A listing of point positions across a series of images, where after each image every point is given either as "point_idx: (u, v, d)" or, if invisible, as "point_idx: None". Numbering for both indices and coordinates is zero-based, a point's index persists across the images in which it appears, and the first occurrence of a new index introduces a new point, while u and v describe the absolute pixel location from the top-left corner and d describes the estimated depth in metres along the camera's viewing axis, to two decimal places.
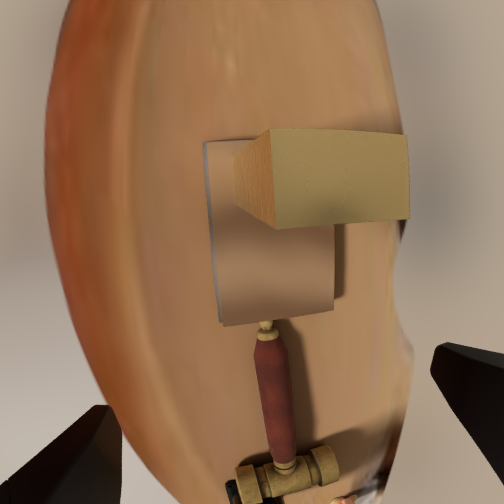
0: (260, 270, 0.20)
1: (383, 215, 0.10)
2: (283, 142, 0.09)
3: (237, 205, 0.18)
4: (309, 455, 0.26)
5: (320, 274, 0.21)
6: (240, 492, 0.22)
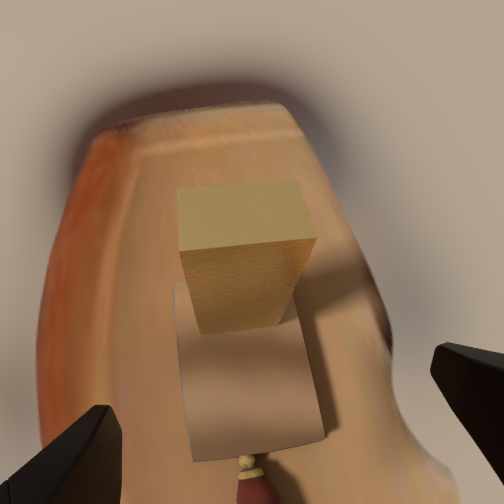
0: (230, 399, 0.17)
1: (284, 235, 0.11)
2: (186, 195, 0.12)
3: (199, 330, 0.18)
4: None
5: (300, 400, 0.17)
6: None
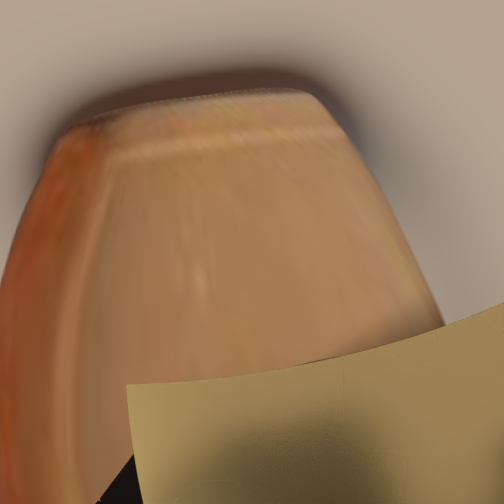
0: None
1: None
2: (173, 429, 0.02)
3: None
4: None
5: None
6: None
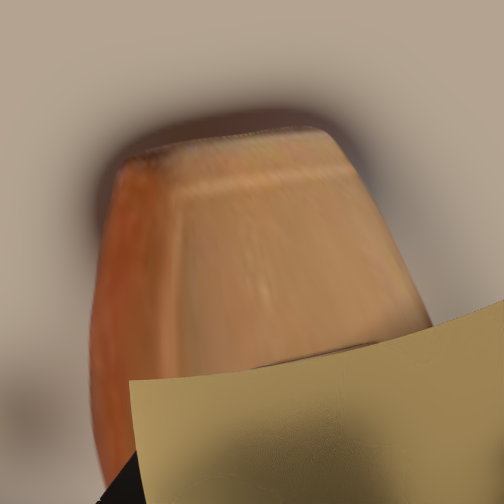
0: None
1: None
2: (176, 424, 0.02)
3: None
4: None
5: None
6: None
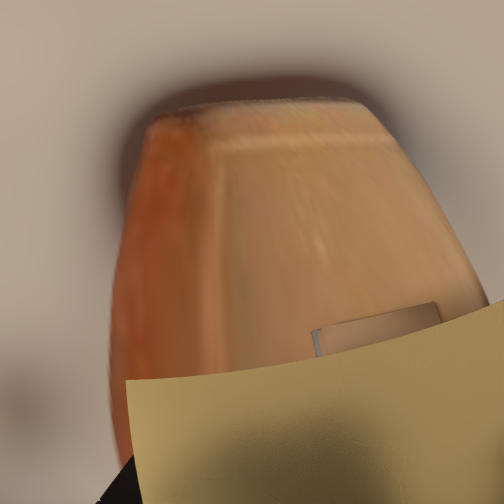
0: None
1: None
2: (172, 424, 0.02)
3: None
4: None
5: None
6: None
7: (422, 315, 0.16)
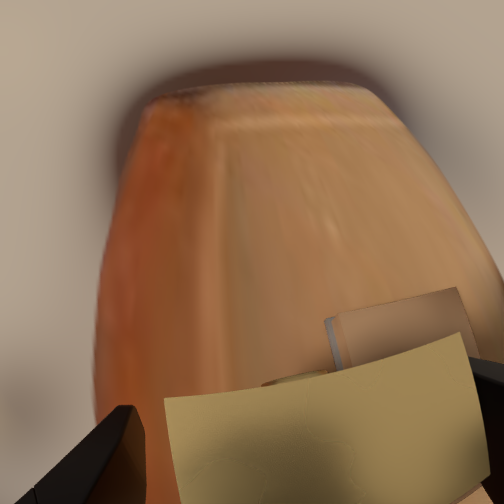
0: None
1: (442, 500, 0.03)
2: (196, 425, 0.03)
3: None
4: None
5: None
6: None
7: (445, 301, 0.14)
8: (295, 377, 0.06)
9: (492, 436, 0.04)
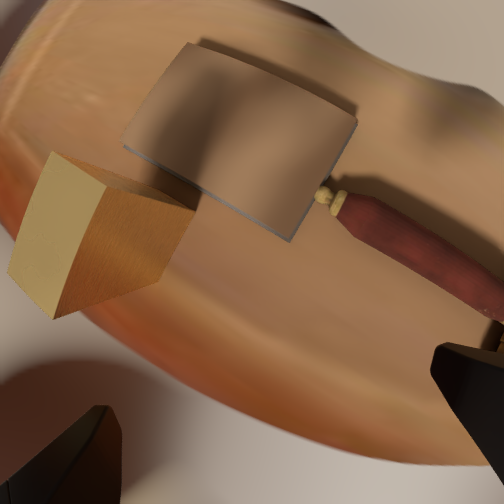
0: (255, 159, 0.16)
1: (85, 219, 0.08)
2: (14, 270, 0.09)
3: (151, 283, 0.18)
4: None
5: (305, 107, 0.16)
6: None
7: (184, 59, 0.16)
8: None
9: None
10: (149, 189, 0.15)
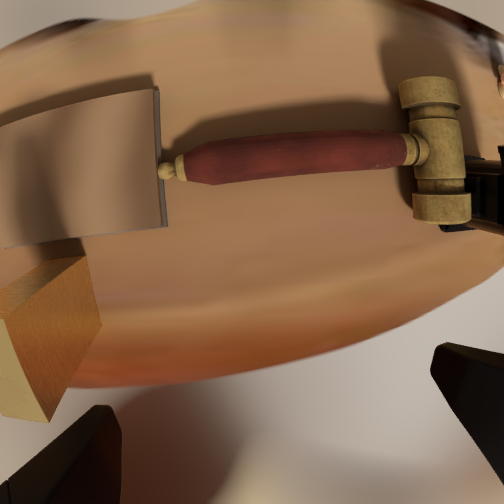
0: (95, 185, 0.15)
1: (10, 349, 0.08)
2: (4, 410, 0.09)
3: (98, 331, 0.18)
4: (409, 112, 0.18)
5: (105, 112, 0.15)
6: (444, 222, 0.17)
7: None
8: None
9: None
10: (40, 271, 0.14)
